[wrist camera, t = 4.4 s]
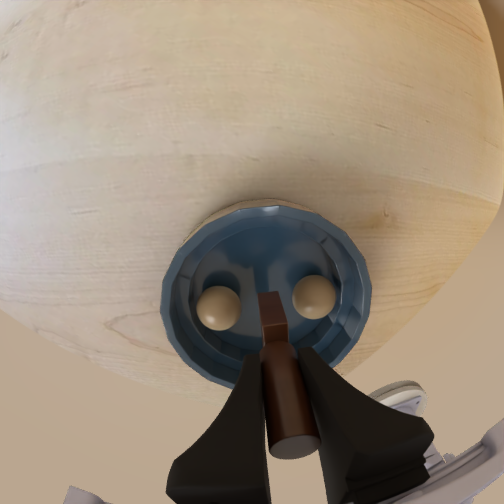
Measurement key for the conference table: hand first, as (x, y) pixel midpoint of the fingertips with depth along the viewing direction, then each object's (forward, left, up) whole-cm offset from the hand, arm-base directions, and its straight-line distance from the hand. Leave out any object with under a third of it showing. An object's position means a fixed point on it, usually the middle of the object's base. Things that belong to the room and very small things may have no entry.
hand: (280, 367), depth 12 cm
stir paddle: (0, 0, -4) cm, 4 cm away
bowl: (0, 0, -9) cm, 9 cm away
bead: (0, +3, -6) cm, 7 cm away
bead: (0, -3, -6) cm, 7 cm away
